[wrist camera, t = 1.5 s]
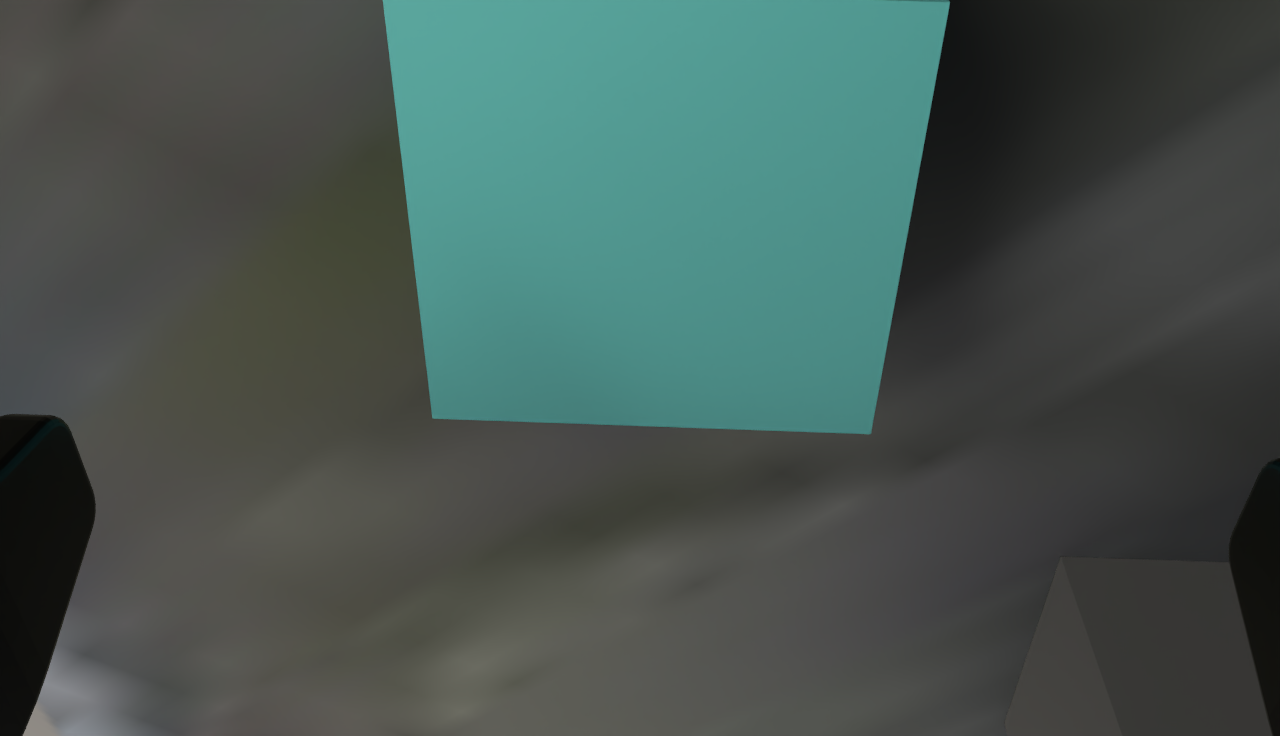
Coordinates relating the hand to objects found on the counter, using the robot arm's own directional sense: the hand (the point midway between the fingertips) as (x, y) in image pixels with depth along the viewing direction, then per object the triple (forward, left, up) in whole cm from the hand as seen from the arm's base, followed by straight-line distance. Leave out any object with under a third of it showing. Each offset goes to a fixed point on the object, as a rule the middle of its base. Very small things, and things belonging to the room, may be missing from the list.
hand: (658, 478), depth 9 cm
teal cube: (0, 0, -9) cm, 9 cm away
